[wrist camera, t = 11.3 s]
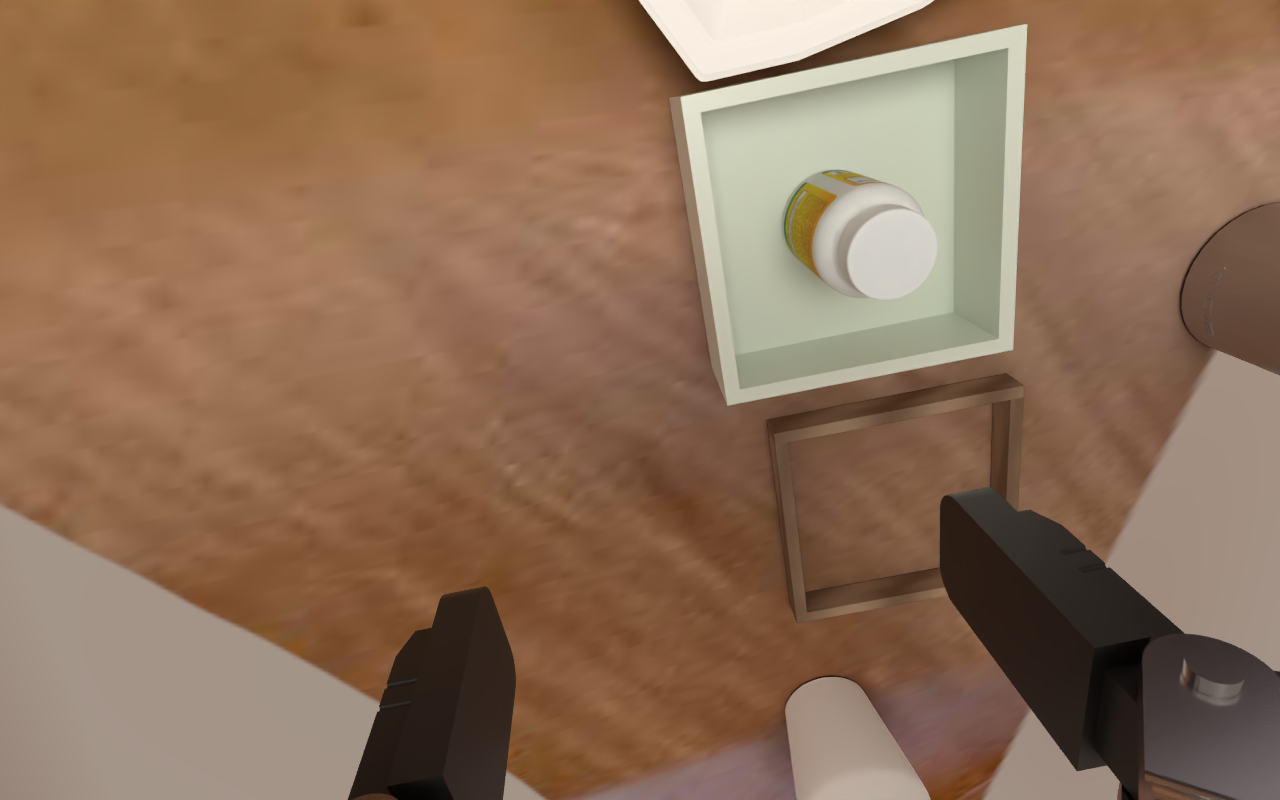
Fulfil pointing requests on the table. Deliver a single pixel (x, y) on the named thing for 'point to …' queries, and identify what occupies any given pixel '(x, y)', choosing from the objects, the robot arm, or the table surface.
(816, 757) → the cup
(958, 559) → the robot arm
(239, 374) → the table surface
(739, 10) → the bowl
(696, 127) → the plastic bin
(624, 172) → the table surface
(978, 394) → the walnut frame
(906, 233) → the supplement bottle
